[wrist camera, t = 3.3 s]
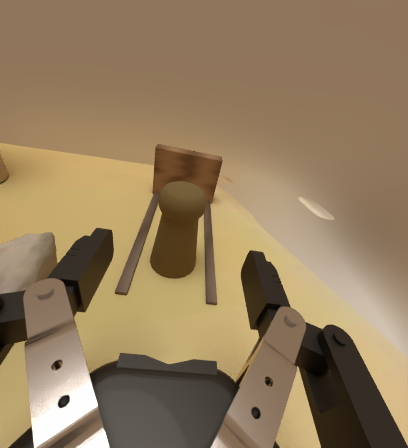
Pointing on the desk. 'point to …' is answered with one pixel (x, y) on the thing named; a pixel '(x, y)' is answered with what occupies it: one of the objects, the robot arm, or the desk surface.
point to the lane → (163, 174)
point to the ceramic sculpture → (26, 261)
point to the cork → (178, 229)
